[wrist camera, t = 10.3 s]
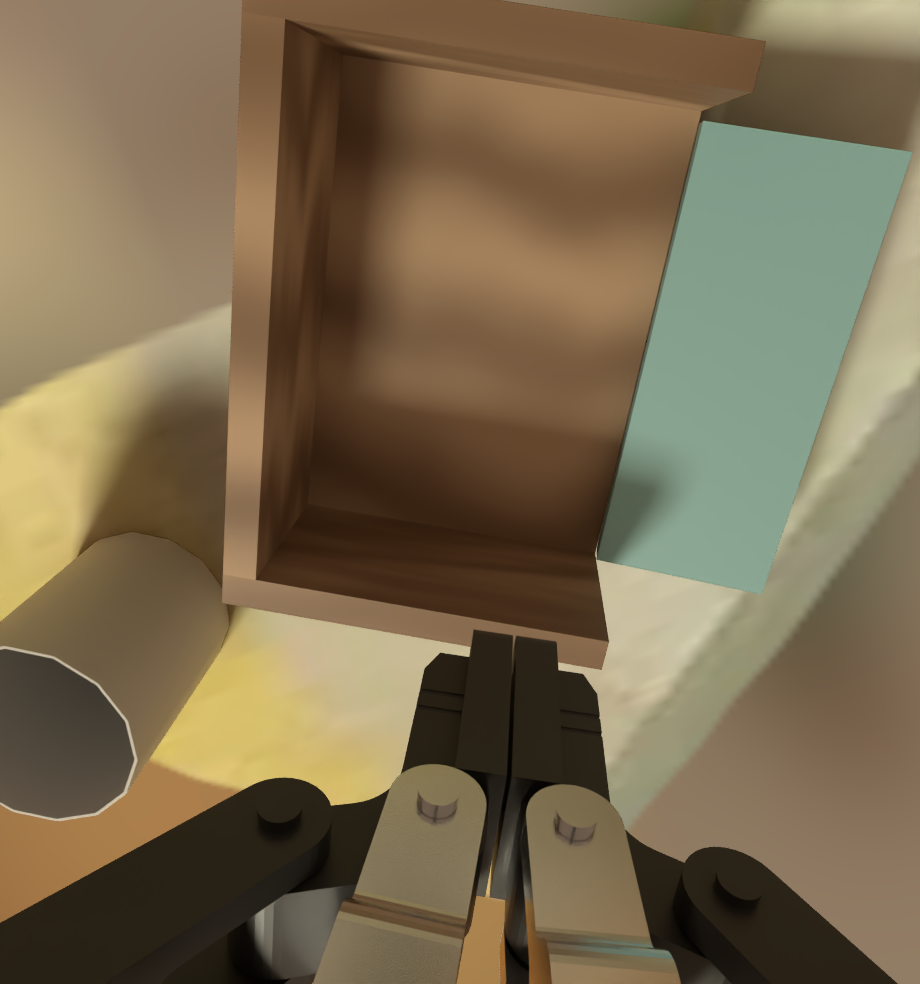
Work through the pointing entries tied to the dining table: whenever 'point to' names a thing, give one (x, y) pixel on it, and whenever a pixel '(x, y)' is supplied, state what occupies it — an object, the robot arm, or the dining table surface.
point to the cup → (101, 672)
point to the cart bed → (447, 303)
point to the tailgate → (745, 348)
